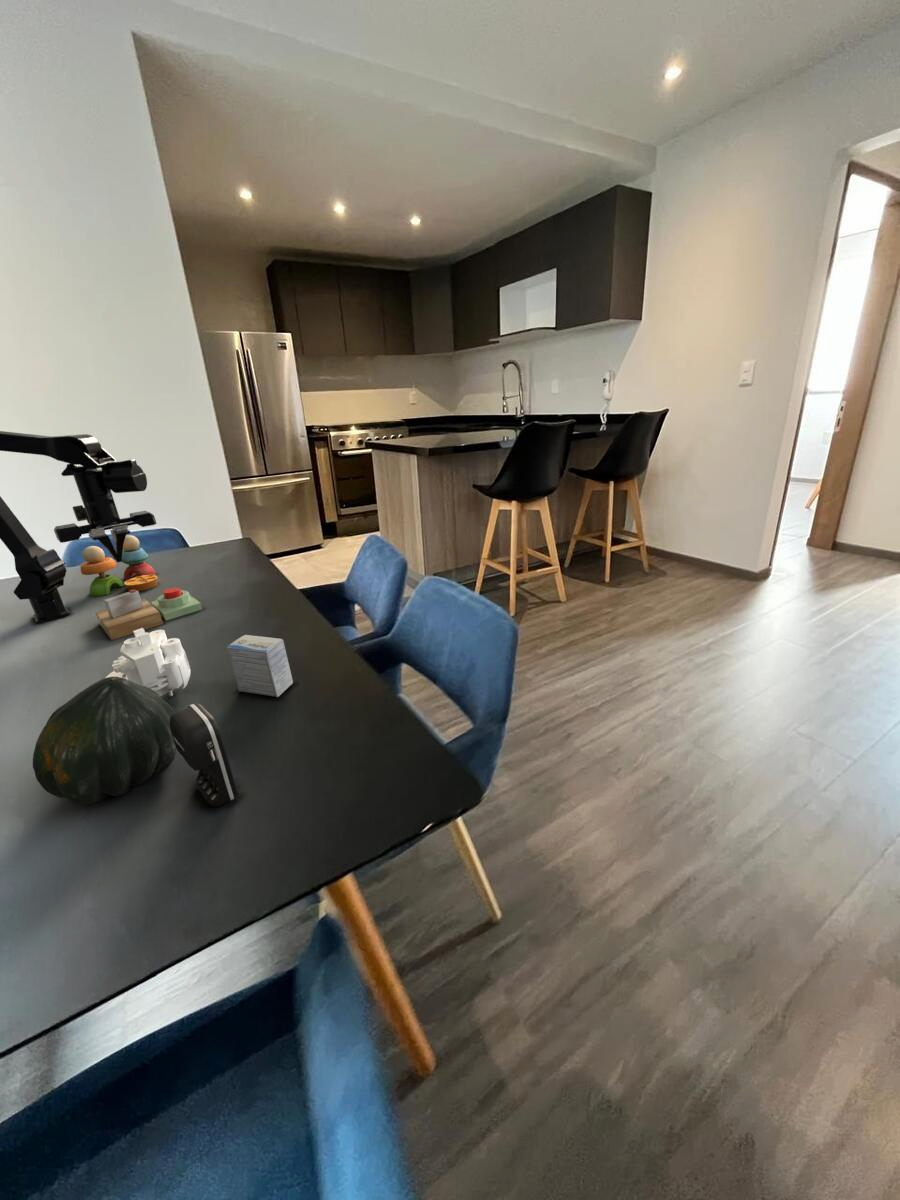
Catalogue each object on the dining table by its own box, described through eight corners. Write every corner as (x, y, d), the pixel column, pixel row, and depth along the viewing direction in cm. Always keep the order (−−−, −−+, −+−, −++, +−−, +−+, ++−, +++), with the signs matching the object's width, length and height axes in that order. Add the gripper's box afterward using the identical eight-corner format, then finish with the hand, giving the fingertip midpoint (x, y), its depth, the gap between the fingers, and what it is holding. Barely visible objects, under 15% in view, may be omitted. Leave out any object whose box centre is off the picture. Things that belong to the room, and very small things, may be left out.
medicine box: (294, 684, 83) (284, 638, 79) (277, 698, 79) (266, 651, 75) (255, 678, 85) (244, 633, 82) (237, 692, 81) (225, 646, 78)
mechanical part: (120, 692, 83) (96, 630, 79) (197, 674, 88) (179, 614, 83) (106, 729, 74) (79, 660, 69) (194, 707, 78) (173, 641, 73)
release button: (163, 597, 116) (161, 590, 115) (179, 593, 118) (177, 586, 118) (167, 601, 114) (165, 594, 113) (184, 596, 116) (182, 589, 115)
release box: (152, 608, 118) (148, 595, 117) (187, 598, 123) (183, 585, 122) (166, 620, 111) (161, 606, 110) (202, 609, 116) (198, 595, 115)
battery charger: (187, 787, 61) (161, 711, 57) (218, 770, 64) (195, 696, 59) (208, 816, 57) (181, 736, 52) (241, 798, 59) (217, 719, 55)
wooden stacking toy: (146, 593, 129) (131, 547, 124) (82, 597, 129) (65, 551, 124) (181, 570, 145) (169, 529, 140) (124, 573, 146) (111, 533, 141)
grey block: (113, 618, 106) (106, 600, 105) (109, 616, 107) (103, 599, 105) (143, 607, 111) (137, 589, 110) (139, 606, 112) (134, 588, 110)
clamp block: (98, 625, 111) (93, 612, 110) (150, 609, 118) (146, 597, 117) (109, 640, 103) (104, 627, 102) (164, 623, 110) (160, 610, 108)
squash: (-3, 763, 59) (14, 697, 52) (116, 699, 72) (143, 639, 65) (79, 847, 59) (107, 792, 51) (184, 767, 72) (219, 714, 64)
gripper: (134, 484, 120) (153, 546, 126) (39, 498, 108) (65, 565, 114) (146, 488, 112) (166, 554, 118) (46, 504, 100) (73, 575, 106)
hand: (119, 561), depth 114 cm, fingers closed
